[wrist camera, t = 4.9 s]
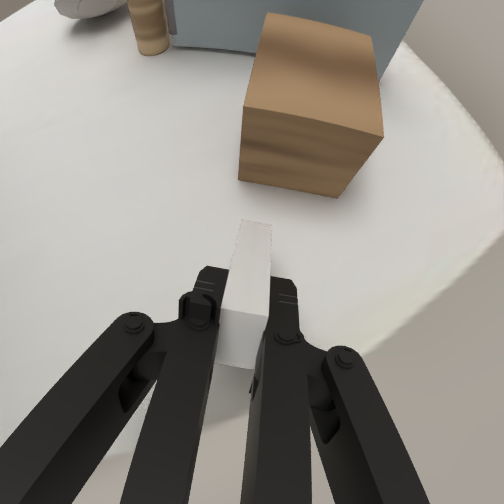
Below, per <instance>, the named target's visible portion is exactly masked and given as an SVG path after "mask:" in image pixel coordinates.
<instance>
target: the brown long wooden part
mask: <svg viewBox="0 0 504 504" xmlns="http://www.w3.org/2000/svg"><path fill="white" fill-rule="evenodd" d="M127 4H128V8H129V13H130V17H131V21H132V25H133V29H134V33H135V37H136V41H137V45H138V49H139V52H140V53H141V54H142V55H146V56H152V55H157V54H160V53H162V52H163V51H165V50H166V49H167V48H168V47H169V37H168V33H169V29H168V23H167V16H166V9H165V1H164V0H127Z"/></svg>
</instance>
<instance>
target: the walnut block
mask: <svg viewBox="0 0 504 504" xmlns="http://www.w3.org/2000/svg"><path fill="white" fill-rule="evenodd" d="M383 138H384V131H383V120H382V109H381V100H380V91H379V83H378V76H377V69H376V62H375V56H374V50H373V44H372V39H371V36H368V35H365V34H362V33H359V32H355V31H352V30H349V29H345V28H341V27H338V26H334V25H330V24H326V23H322V22H317V21H313V20H308V19H303V18H299V17H293V16H288V15H282V14H276V13H270V12H267V14H266V18H265V22H264V26H263V29H262V33H261V37H260V41H259V45H258V49H257V52H256V56H255V60H254V64H253V68H252V72H251V76H250V80H249V85H248V89H247V93H246V97H245V101H244V105H243V117H242V130H241V144H240V158H239V172H238V180H240V181H247V182H252V183H258V184H264V185H270V186H275V187H281V188H286V189H292V190H297V191H302V192H307V193H312V194H317V195H322V196H327V197H332V198H336V199H337V198H338V197H339V195H340V194H341V193H342V191H343V190H344V189H345V188H346V186H347V185H348V184H349V182H350V181H351V180H352V179H353V177H354V176H355V175H356V173H357V172H358V171H359V169H360V168H361V167H362V166H363V164H364V163H365V162H366V160H367V159H368V158H369V156H370V155H371V154H372V152H373V151H374V150H375V149H376V147H377V146H378V145H379V143H380V142H381V141H382V139H383Z"/></svg>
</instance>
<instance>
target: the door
mask: <svg viewBox="0 0 504 504" xmlns="http://www.w3.org/2000/svg"><path fill="white" fill-rule="evenodd" d="M164 1H165V9H166V16H167V23H168V29H169V34H171V35H173V39H174V46H186V47H203V48H216V49H226V50H235V51H243V52H251V53H256V52H257V49H258V45H259V41H260V37H261V33H262V29H263V26H264V22H265V18H266V14H267V12H270V13H276V14H282V15H288V16H293V17H299V18H303V19H308V20H313V21H317V22H322V23H326V24H330V25H334V26H338V27H341V28H345V29H349V30H352V31H355V32H359V33H362V34H365V35H368V36H371V39H372V44H373V50H374V56H375V62H376V69H377V76H378V82H379V80H380V78H381V77H382V75H383V73H384V71H385V70H386V68H387V66H388V64H389V63H390V61H391V59H392V57H393V55H394V54H395V52H396V50H397V48H398V46H399V45H400V43H401V41H402V39H403V37H404V35H405V34H406V32H407V30H408V28H409V26H410V25H411V23H412V21H413V19H414V17H415V15H416V13H417V12H418V10H419V8H420V6H421V4H422V2H423V1H424V0H164Z"/></svg>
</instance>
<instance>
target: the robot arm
mask: <svg viewBox="0 0 504 504" xmlns="http://www.w3.org/2000/svg"><path fill="white" fill-rule="evenodd" d="M271 241H272V225H269V224H263V223H258V222H252V221H246V220H241V223H240V228H239V232H238V236H237V240H236V244H235V249H234V253H233V257H232V261H231V266H230V270H228V269H222V268H217V267H211V266H206V267H205V268H204V269H202V270H201V271H200V272H199V275H198V277H197V280H196V283H195V285H194V288H193V291H191V292H187V293H186V294H184V295H182V297H181V298H180V299H179V318H178V319H177V320H175V321H171V322H166V323H153V321H152V319H151V318H150V317H149V316H147V315H146V314H144V313H140V312H128V313H125V314H122V315H121V316H119V317H118V318H117V319H116V320H115V321H114V322H113V323H112V324H111V325H110V326H109V327H108V328H107V329H106V330H105V331H104V332H103V333H102V334H101V335H100V336H99V338H98V339H97V340H96V341H95V342H94V343H93V344H92V345H91V346H90V347H89V348H88V349H87V350H86V351H85V352H84V353H83V354H82V356H81V357H80V358H79V359H78V360H77V361H76V362H75V363H74V364H73V365H72V366H71V367H70V368H69V370H68V371H67V372H66V373H65V374H64V375H63V376H62V377H61V378H60V379H59V381H58V382H57V383H56V384H55V385H54V386H53V387H52V388H51V389H50V391H49V392H48V393H47V394H46V395H45V396H44V397H43V398H42V400H41V401H40V402H39V403H38V404H37V405H36V406H35V407H34V409H33V410H32V411H31V412H30V413H29V414H28V416H27V417H26V418H25V419H24V420H23V421H22V423H21V424H20V425H19V426H18V427H17V428H16V430H15V431H14V432H13V433H12V434H11V436H10V437H9V438H8V439H7V440H6V442H5V443H4V444H3V445H2V446H1V448H0V504H72V502H73V501H74V499H75V498H76V496H77V495H78V493H79V492H80V491H81V489H82V488H83V486H84V485H85V483H86V482H87V480H88V479H89V477H90V476H91V475H92V473H93V472H94V470H95V469H96V467H97V465H98V464H99V463H100V461H101V460H102V459H103V457H104V456H105V454H106V453H107V451H108V450H109V448H110V447H111V446H112V444H113V443H114V441H115V440H116V438H117V437H118V435H119V434H120V432H121V431H122V430H123V428H124V427H125V425H126V424H127V422H128V421H129V419H130V418H131V417H132V415H133V414H134V412H135V411H136V409H137V408H138V406H139V405H140V404H141V402H142V401H143V399H144V398H145V396H146V395H147V393H148V392H149V391H150V389H151V388H152V386H153V385H154V383H155V382H156V380H157V383H156V386H155V389H154V392H153V395H152V398H151V401H150V404H149V407H148V410H147V413H146V416H145V420H144V423H143V426H142V429H141V432H140V436H139V439H138V442H137V445H136V449H135V452H134V455H133V459H132V462H131V466H130V469H129V472H128V476H127V480H126V483H125V487H124V490H123V494H122V497H121V501H120V504H188V500H189V495H190V489H191V483H192V479H193V473H194V468H195V462H196V456H197V451H198V446H199V440H200V435H201V430H202V425H203V420H204V414H205V409H206V404H207V399H208V394H209V388H210V383H211V378H212V372H213V365H214V363H217V364H222V365H228V366H234V367H240V368H246V369H253V370H254V368H255V374H254V377H253V381H252V384H251V388H250V391H249V393H251V400H250V411H249V422H248V432H247V442H246V453H245V462H244V473H243V482H242V492H241V502H240V504H312V482H311V444H310V443H311V442H310V427H311V430H312V433H313V436H314V439H315V442H316V445H317V448H318V452H319V455H320V458H321V461H322V464H323V467H324V470H325V473H326V477H327V480H328V483H329V486H330V489H331V492H332V495H333V499H334V502H335V504H430V503H429V500H428V498H427V496H426V493H425V491H424V488H423V486H422V484H421V482H420V479H419V477H418V475H417V472H416V470H415V468H414V466H413V463H412V461H411V459H410V457H409V454H408V452H407V450H406V448H405V446H404V444H403V441H402V439H401V437H400V435H399V433H398V431H397V428H396V427H395V424H394V422H393V420H392V418H391V416H390V414H389V412H388V410H387V407H386V405H385V403H384V401H383V399H382V397H381V395H380V393H379V391H378V389H377V387H376V385H375V383H374V381H373V379H372V377H371V375H370V373H369V371H368V369H367V367H366V365H365V363H364V361H363V359H362V357H361V356H360V355H359V354H358V352H356V351H355V350H353V349H352V348H349V347H346V346H335V347H332V348H330V349H329V350H328V351H324V350H321V349H319V348H316V347H314V346H312V345H310V344H309V343H308V342H306V341H305V339H304V336H303V334H302V333H301V332H300V329H299V313H298V299H297V288H296V286H295V285H294V283H293V282H292V280H290V279H284V278H278V277H273V276H270V270H271Z"/></svg>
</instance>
